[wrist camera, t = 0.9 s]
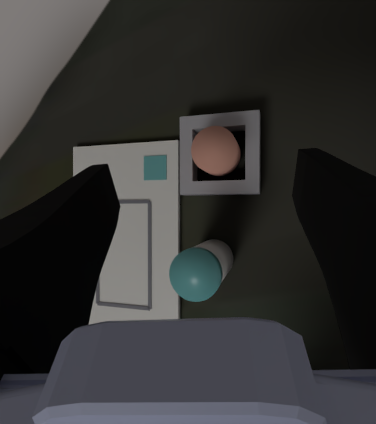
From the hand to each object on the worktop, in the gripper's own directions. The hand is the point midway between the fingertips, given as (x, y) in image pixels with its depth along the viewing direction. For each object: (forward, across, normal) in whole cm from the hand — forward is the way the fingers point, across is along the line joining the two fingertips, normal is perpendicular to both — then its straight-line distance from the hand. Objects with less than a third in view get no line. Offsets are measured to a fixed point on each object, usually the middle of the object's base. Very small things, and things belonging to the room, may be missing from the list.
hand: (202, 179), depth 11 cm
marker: (+7, 0, +12) cm, 13 cm away
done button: (+11, -1, +4) cm, 12 cm away
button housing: (+12, -1, +5) cm, 13 cm away
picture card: (+9, +7, +11) cm, 16 cm away
